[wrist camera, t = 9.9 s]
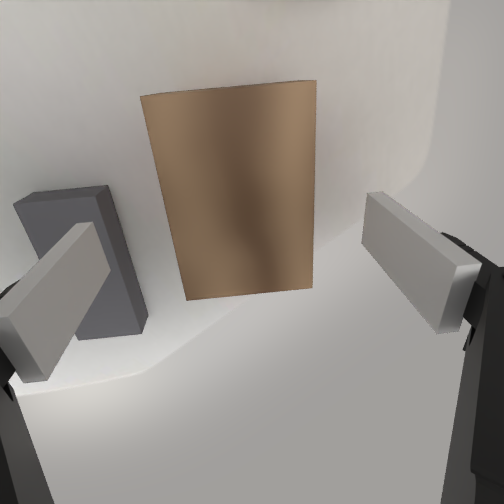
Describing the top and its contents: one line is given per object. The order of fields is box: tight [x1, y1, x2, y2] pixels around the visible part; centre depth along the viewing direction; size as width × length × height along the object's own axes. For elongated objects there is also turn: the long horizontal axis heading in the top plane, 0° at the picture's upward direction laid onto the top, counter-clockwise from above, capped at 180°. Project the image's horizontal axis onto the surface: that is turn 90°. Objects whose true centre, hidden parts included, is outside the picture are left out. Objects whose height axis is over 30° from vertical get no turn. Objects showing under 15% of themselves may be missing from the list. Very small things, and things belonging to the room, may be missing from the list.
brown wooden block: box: [140, 80, 316, 301], centre depth 21 cm, size 9×13×5 cm
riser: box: [13, 185, 148, 340], centre depth 30 cm, size 7×15×3 cm, turn 4°
